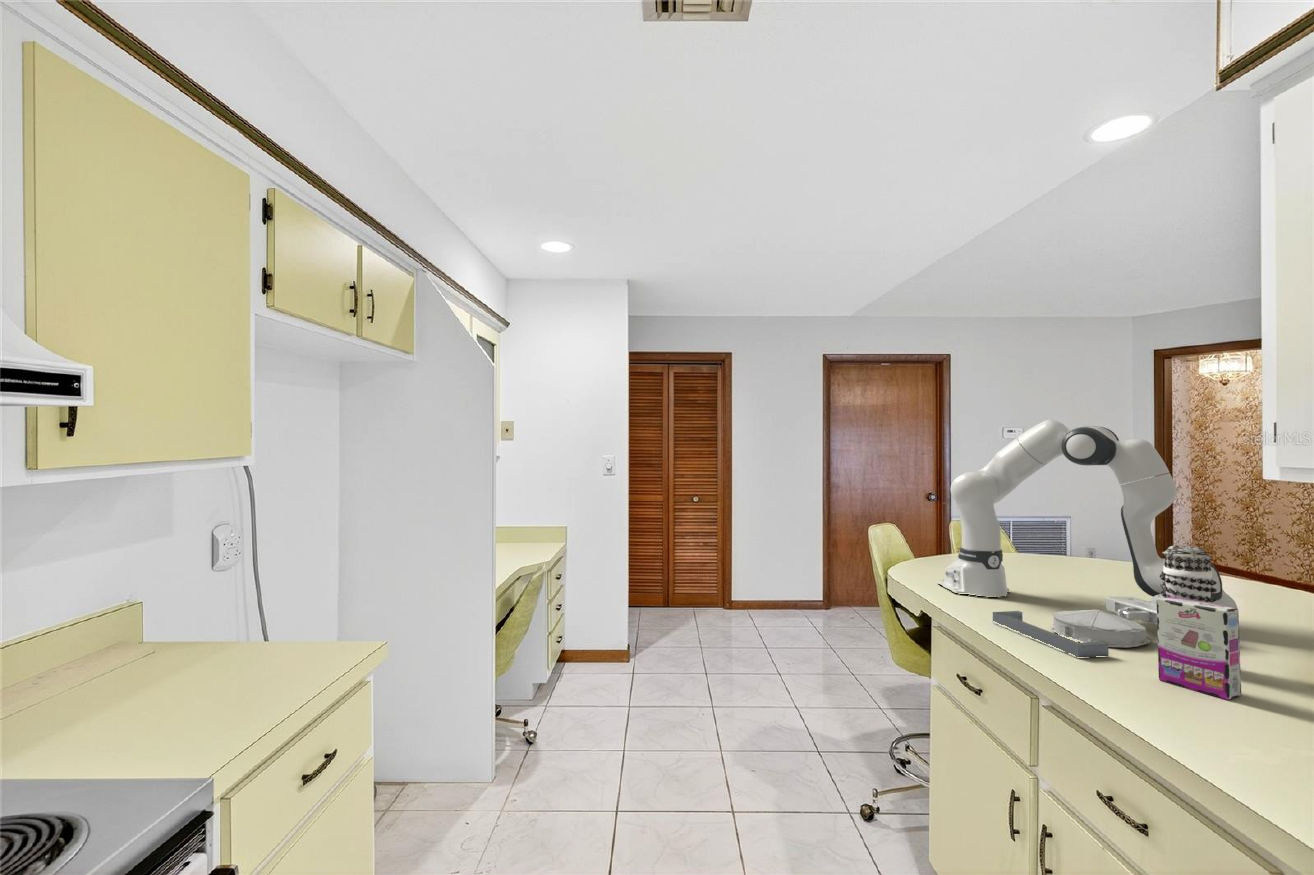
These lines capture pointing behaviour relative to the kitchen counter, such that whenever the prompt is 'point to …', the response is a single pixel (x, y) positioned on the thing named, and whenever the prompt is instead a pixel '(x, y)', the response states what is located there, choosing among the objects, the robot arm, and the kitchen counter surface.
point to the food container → (1099, 628)
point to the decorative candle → (1187, 574)
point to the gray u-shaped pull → (1050, 636)
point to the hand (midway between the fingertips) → (1122, 614)
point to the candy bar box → (1199, 646)
